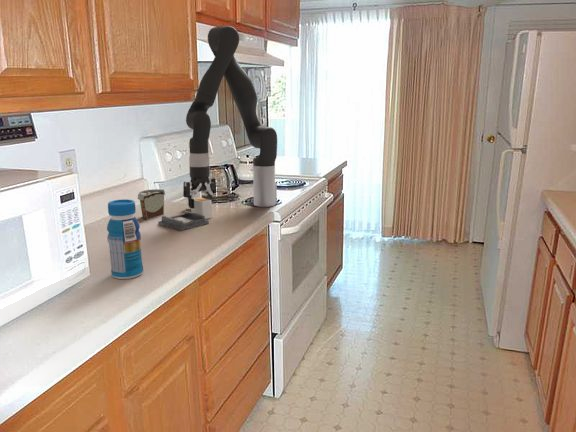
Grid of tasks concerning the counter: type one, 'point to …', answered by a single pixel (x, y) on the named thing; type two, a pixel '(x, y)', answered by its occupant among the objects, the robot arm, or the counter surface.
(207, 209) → the block
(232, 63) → the robot arm
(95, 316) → the counter surface
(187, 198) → the white wedge bracket
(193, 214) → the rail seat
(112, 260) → the beverage bottle
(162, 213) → the food container
